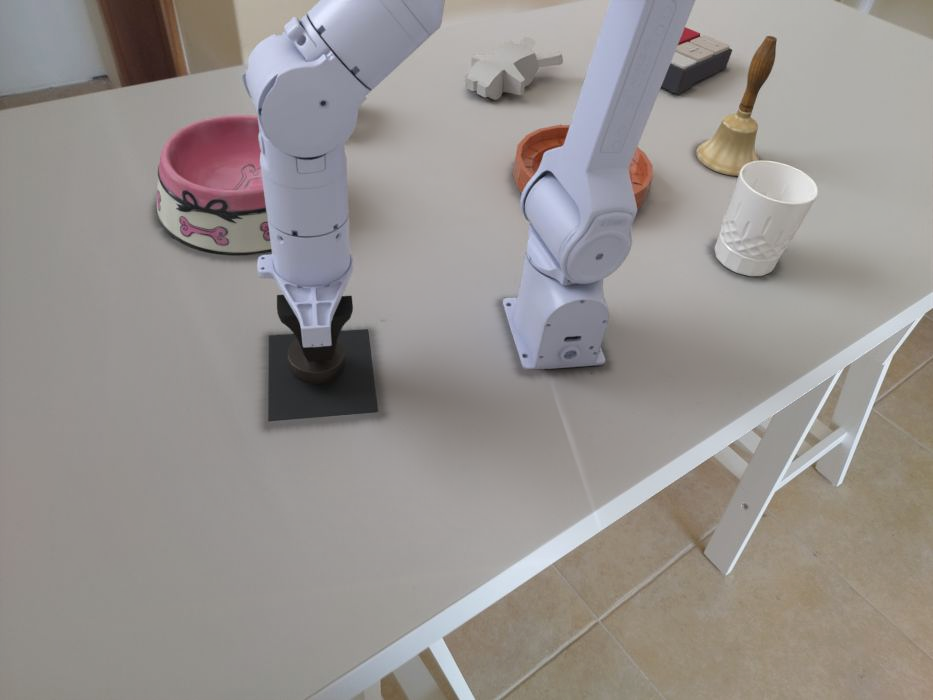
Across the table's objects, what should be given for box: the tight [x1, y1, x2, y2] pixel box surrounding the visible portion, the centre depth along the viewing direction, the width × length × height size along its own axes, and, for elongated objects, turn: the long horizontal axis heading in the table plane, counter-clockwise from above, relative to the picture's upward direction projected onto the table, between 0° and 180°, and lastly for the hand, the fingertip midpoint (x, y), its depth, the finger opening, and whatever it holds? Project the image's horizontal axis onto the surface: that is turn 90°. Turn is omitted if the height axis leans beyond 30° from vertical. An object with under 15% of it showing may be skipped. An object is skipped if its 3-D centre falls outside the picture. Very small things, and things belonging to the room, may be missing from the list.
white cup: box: [713, 159, 819, 277], centre depth 79 cm, size 8×8×10 cm
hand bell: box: [695, 35, 778, 177], centre depth 91 cm, size 8×8×16 cm
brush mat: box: [267, 328, 379, 422], centre depth 65 cm, size 10×9×1 cm
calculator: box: [661, 26, 733, 95], centre depth 113 cm, size 11×4×15 cm
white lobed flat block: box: [464, 36, 564, 101], centre depth 105 cm, size 10×5×15 cm
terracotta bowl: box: [512, 124, 654, 210], centre depth 88 cm, size 16×16×4 cm
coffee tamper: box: [288, 339, 346, 384], centre depth 61 cm, size 5×5×7 cm
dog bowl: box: [156, 114, 272, 257], centre depth 79 cm, size 18×19×7 cm
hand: (319, 345), depth 62 cm, fingers closed on coffee tamper, 2 cm apart
